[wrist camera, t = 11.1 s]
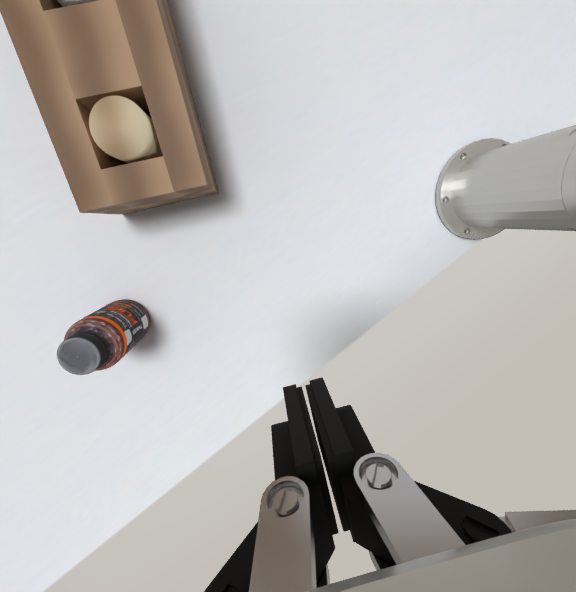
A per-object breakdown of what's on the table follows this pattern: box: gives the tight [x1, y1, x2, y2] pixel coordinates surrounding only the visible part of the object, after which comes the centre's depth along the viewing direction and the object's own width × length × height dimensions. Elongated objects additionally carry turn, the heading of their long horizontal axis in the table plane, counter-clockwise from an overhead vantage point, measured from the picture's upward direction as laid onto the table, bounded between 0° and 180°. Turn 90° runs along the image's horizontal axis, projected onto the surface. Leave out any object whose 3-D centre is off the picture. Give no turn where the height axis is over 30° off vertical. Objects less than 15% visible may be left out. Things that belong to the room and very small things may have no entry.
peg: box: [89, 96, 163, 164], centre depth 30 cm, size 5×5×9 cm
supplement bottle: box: [57, 300, 150, 375], centre depth 34 cm, size 6×6×11 cm
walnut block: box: [0, 0, 218, 214], centre depth 29 cm, size 12×24×9 cm, turn 12°
